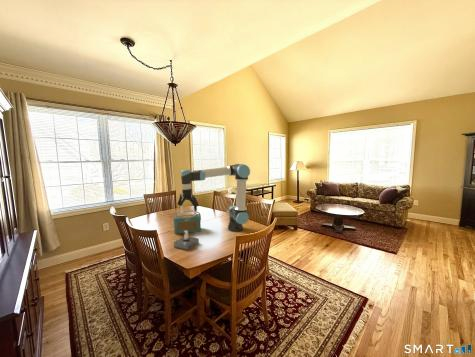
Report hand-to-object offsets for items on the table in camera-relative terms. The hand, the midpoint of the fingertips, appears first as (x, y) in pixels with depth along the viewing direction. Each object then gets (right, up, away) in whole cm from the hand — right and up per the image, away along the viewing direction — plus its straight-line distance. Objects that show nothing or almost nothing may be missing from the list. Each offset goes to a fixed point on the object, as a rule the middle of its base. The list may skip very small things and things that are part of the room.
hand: (188, 213), depth 166 cm
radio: (-8, -22, +28) cm, 37 cm away
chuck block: (-1, -25, -3) cm, 25 cm away
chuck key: (-1, -25, -3) cm, 25 cm away
